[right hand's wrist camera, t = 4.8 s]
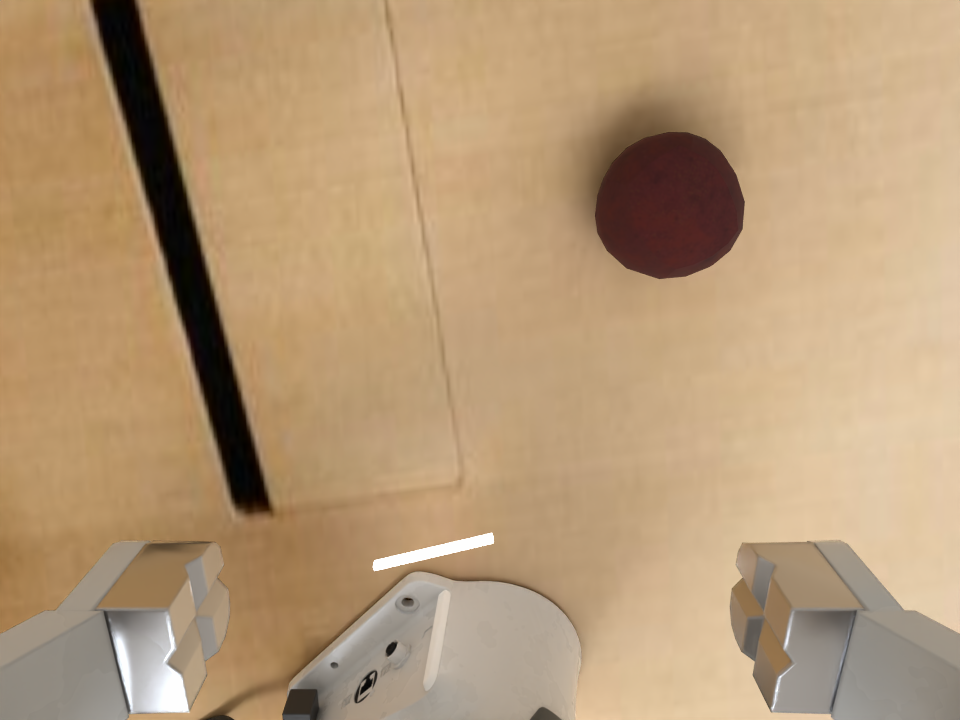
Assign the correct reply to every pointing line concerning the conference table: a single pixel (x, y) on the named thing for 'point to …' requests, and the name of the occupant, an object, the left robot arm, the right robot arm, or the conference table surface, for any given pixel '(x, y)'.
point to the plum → (669, 206)
